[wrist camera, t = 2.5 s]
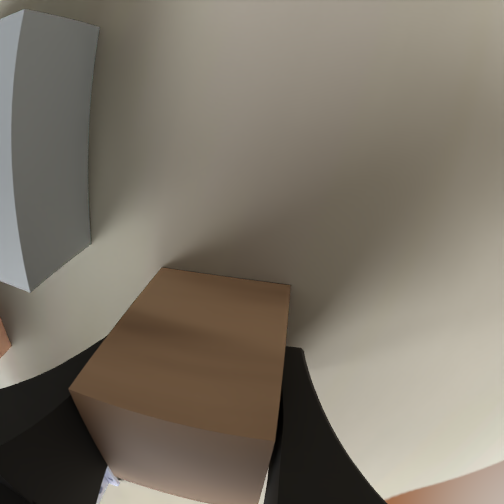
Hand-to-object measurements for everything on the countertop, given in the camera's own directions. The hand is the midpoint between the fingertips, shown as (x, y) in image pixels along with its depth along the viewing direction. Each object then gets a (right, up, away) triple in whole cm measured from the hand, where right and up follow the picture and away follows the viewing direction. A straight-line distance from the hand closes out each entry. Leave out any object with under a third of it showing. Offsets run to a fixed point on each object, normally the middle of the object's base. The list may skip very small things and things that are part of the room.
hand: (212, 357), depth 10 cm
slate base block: (-8, +8, 0) cm, 12 cm away
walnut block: (0, +1, +1) cm, 2 cm away
